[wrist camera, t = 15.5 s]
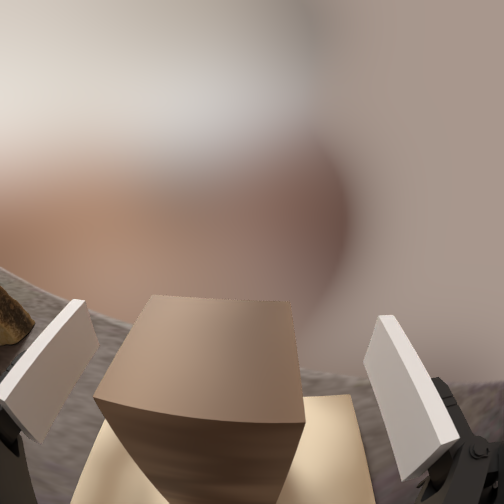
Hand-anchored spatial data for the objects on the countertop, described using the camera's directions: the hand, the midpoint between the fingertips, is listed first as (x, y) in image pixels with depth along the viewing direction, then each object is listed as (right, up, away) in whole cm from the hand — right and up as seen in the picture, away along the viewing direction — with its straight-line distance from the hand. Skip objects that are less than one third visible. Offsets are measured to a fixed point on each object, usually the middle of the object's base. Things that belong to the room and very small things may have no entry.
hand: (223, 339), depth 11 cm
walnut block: (0, -8, 0) cm, 8 cm away
